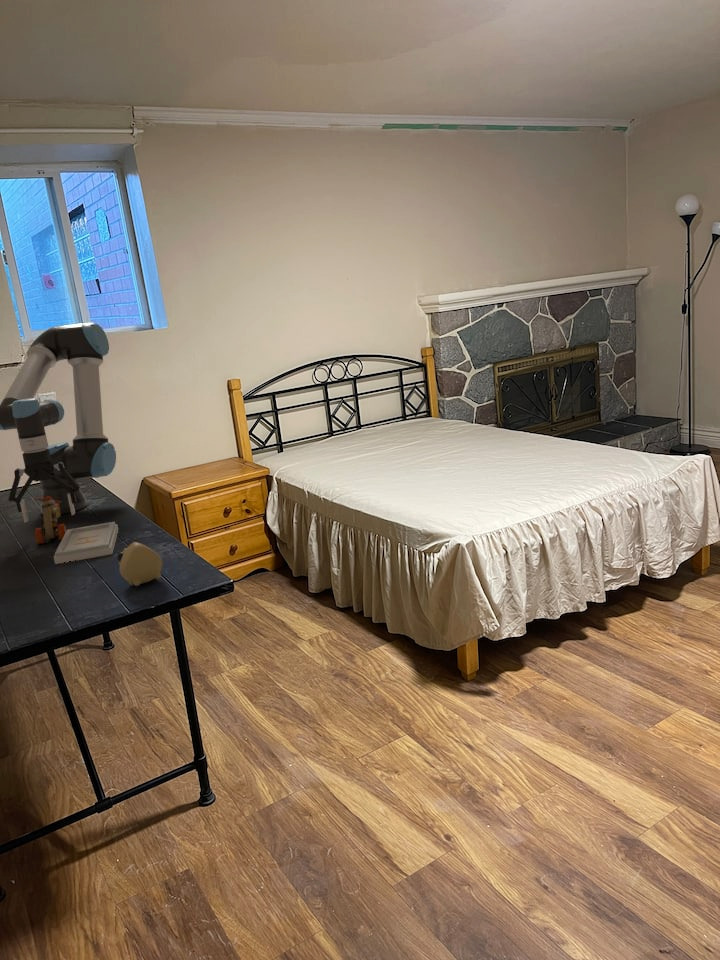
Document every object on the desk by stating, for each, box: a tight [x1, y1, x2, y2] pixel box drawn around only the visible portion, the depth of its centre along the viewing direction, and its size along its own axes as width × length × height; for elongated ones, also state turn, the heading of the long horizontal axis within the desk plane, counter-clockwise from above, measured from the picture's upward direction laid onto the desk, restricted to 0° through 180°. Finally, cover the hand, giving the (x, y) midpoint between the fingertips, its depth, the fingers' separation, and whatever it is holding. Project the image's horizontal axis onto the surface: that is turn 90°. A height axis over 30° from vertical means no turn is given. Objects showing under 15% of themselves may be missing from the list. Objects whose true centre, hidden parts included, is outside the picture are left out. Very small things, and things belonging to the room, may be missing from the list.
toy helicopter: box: [34, 496, 68, 545], centre depth 217 cm, size 8×21×14 cm, turn 16°
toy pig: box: [117, 541, 163, 587], centre depth 169 cm, size 10×12×11 cm
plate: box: [53, 521, 119, 565], centre depth 203 cm, size 23×15×3 cm, turn 15°
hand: (50, 517), depth 216 cm, fingers open, 13 cm apart
